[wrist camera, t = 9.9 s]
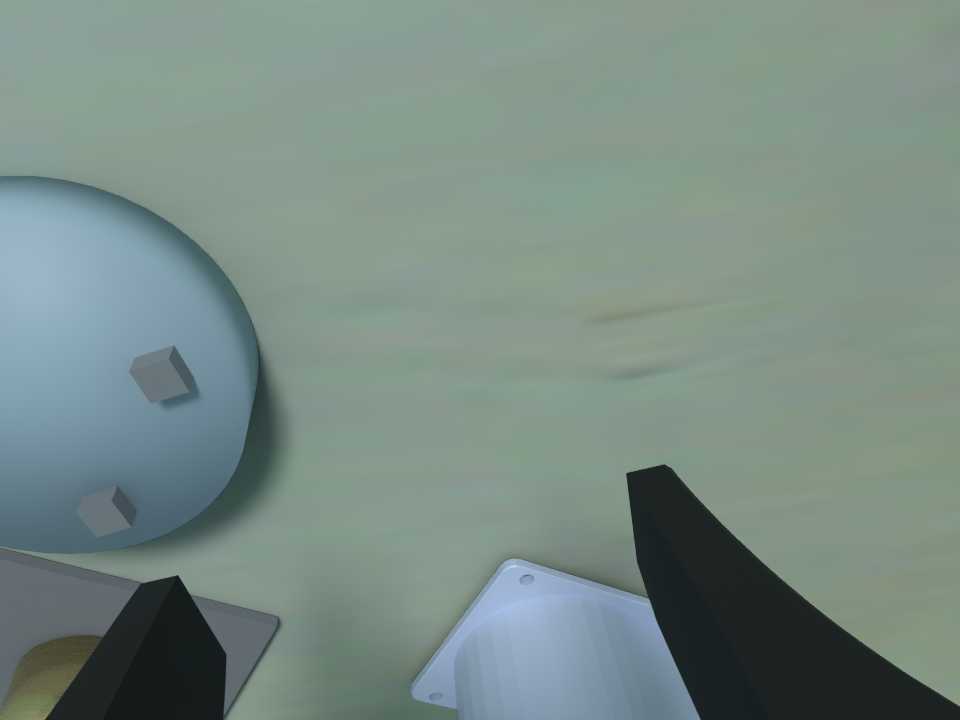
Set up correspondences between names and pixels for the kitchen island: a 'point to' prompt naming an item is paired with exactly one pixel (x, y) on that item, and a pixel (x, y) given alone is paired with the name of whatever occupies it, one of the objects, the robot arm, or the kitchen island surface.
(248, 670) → the mat
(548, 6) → the kitchen island surface
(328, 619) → the kitchen island surface
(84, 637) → the knob
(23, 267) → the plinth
